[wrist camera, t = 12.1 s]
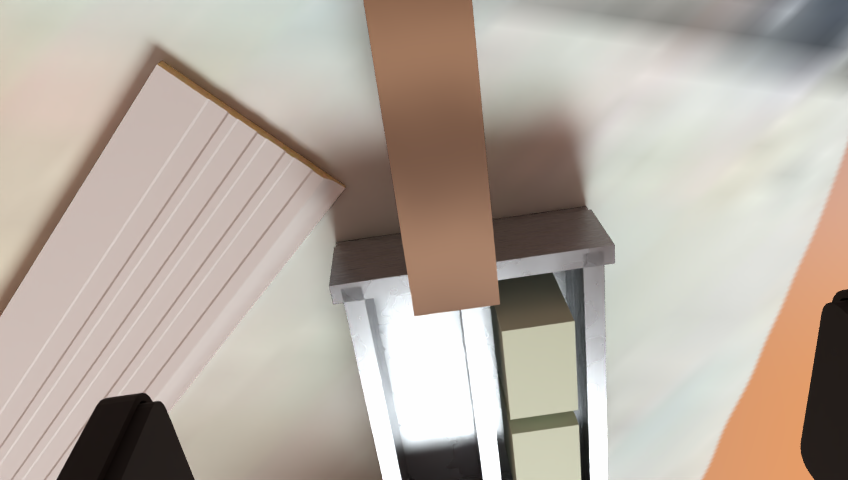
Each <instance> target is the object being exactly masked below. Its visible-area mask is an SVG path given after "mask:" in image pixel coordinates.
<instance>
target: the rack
mask: <svg viewBox="0 0 848 480" xmlns="http://www.w3.org/2000/svg"><path fill="white" fill-rule="evenodd" d="M492 223H493V234H494V244H495V255H496V266H497V277H498V280H503V279H510V278H517V277H524V276H530V275H537V274H544V273H551V272H553V275H554V277H555V279H556V281H557V283H558V286H559V288H560V290H561V292H562V294H563V297H564V299H565V301H566V303H567V305H568V308H569V310H570V312H571V314H572V316H573V319H574V321H575V343H576V367H577V391H578V410H575V411H574V413H575V416H576V418H577V421H578V424H579V440H580V464H581V480H608V456H607V396H606V336H605V276H604V265H606V264H613V263H615V245H614V243H613V242H612V240H611V239H610V237H609V236H608V234H607V233H606V231H605V230H604V228H603V227H602V225H601V224H600V222H599V221H598V219H597V218H596V216H595V215H594V213H593V212H592V210H588V208H587V207H586V206H584V207H577V208H570V209H564V210H557V211H550V212H543V213H536V214H529V215H522V216H516V217H509V218H502V219H495V220H492ZM329 288H330V292H331V296H332V301H333V304H337V303H344V306H345V311H346V315H347V320H348V324H349V329H350V333H351V338H352V342H353V347H354V351H355V356H356V360H357V365H358V369H359V374H360V378H361V383H362V387H363V392H364V396H365V401H366V406H367V410H368V415H369V419H370V424H371V428H372V433H373V437H374V442H375V446H376V451H377V455H378V460H379V464H380V469H381V473H382V478H383V480H513V478H512V473H511V469H510V465H509V460H508V456H507V451H506V447H505V440H504V431H503V421H502V412H501V403H500V393H499V384H498V375H497V374H499V371H498V367H497V363H496V356H495V347H494V337H493V328H492V319H491V309H490V306H486V307H479V308H472V309H464V310H457V311H450V312H443V313H436V314H429V315H421V316H414V311H413V305H412V299H411V293H410V286H409V280H408V274H407V268H406V262H405V255H404V249H403V243H402V237H401V233H399V234H392V235H385V236H379V237H372V238H365V239H358V240H351V241H344V242H337V243H336V247H334V253H333V261H332V269H331V276H330V284H329Z"/></svg>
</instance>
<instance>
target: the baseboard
mask: <svg viewBox="0 0 848 480" xmlns="http://www.w3.org/2000/svg"><path fill="white" fill-rule="evenodd" d="M345 188H346V186H345V185H343V184H342V183H340V182H339V181H337V180H336V179H335V178H333V177H332V176H330V175H329V174H327V173H326V172H324V171H323V170H321V169H320V168H318V167H317V166H316V165H314V164H313V163H311V162H310V161H308V160H307V159H305V158H304V157H302V156H301V155H299V154H298V153H297V152H295V151H294V150H292V149H291V148H289V147H288V146H286V145H285V144H283V143H282V142H280V141H279V140H277V139H276V138H275V137H273V136H272V135H270V134H269V133H267V132H266V131H264V130H263V129H261V128H260V127H258V126H257V125H256V124H254V123H253V122H251V121H250V120H248V119H247V118H245V117H244V116H242V115H241V114H239V113H238V112H237V111H235V110H234V109H232V108H231V107H229V106H228V105H226V104H225V103H223V102H222V101H220V100H219V99H218V98H216V97H215V96H213V95H212V94H210V93H209V92H207V91H206V90H204V89H203V88H201V87H200V86H198V85H197V84H196V83H194V82H193V81H191V80H190V79H188V78H187V77H185V76H184V75H182V74H181V73H179V72H178V71H177V70H175V69H174V68H172V67H171V66H169V65H168V64H166V63H165V62H163V61H161V62H159V63H158V64H157V65H156V66H155V68H154V70H153V71H152V73H151V75H150V76H149V78H148V79H147V81H146V83H145V84H144V86H143V87H142V89H141V91H140V92H139V94H138V95H137V97H136V99H135V100H134V102H133V104H132V105H131V107H130V108H129V110H128V112H127V113H126V115H125V116H124V118H123V120H122V121H121V123H120V124H119V126H118V128H117V129H116V131H115V133H114V134H113V136H112V137H111V139H110V141H109V142H108V144H107V145H106V147H105V149H104V150H103V152H102V154H101V155H100V157H99V158H98V160H97V162H96V163H95V165H94V166H93V168H92V170H91V171H90V173H89V174H88V176H87V178H86V179H85V181H84V183H83V184H82V186H81V187H80V189H79V191H78V192H77V194H76V195H75V197H74V199H73V200H72V202H71V203H70V205H69V207H68V208H67V210H66V212H65V213H64V215H63V216H62V218H61V220H60V221H59V223H58V224H57V226H56V228H55V229H54V231H53V232H52V234H51V236H50V237H49V239H48V241H47V242H46V244H45V245H44V247H43V249H42V250H41V252H40V253H39V255H38V257H37V258H36V260H35V261H34V263H33V265H32V266H31V268H30V270H29V271H28V273H27V274H26V276H25V278H24V279H23V281H22V282H21V284H20V286H19V287H18V289H17V291H16V292H15V294H14V295H13V297H12V299H11V300H10V302H9V303H8V305H7V307H6V308H5V310H4V311H3V313H2V315H1V316H0V480H56V479H57V477H58V476H59V474H60V472H61V470H62V468H63V466H64V464H65V463H66V461H67V459H68V457H69V455H70V453H71V452H72V450H73V448H74V446H75V444H76V442H77V440H78V439H79V437H80V435H81V433H82V431H83V429H84V428H85V426H86V424H87V422H88V420H89V418H90V416H91V415H92V413H93V411H94V409H95V407H96V405H97V404H98V403H99V402H100V400H102V399H104V398H109V397H116V396H123V395H130V394H137V393H146V394H147V395H149V396H150V398H151V399H152V401H153V402H154V401H161V402H162V403H163V404H164V406H165V407H166V410H167V412H168V413H169V412H170V410H171V409H172V408H173V407H174V405H175V404H176V403H177V402H178V400H179V399H180V398H181V396H182V395H183V394H184V393H185V391H186V390H187V389H188V388H189V386H190V385H191V384H192V383H193V381H194V380H195V379H196V377H197V376H198V375H199V374H200V372H201V371H202V370H203V369H204V367H205V366H206V365H207V363H208V362H209V361H210V360H211V358H212V357H213V356H214V355H215V353H216V352H217V351H218V349H219V348H220V347H221V346H222V344H223V343H224V342H225V341H226V339H227V338H228V337H229V335H230V334H231V333H232V332H233V330H234V329H235V328H236V327H237V325H238V324H239V323H240V321H241V320H242V319H243V318H244V316H245V315H246V314H247V313H248V311H249V310H250V309H251V308H252V306H253V305H254V304H255V302H256V301H257V300H258V299H259V297H260V296H261V295H262V294H263V292H264V291H265V290H266V288H267V287H268V286H269V285H270V283H271V282H272V281H273V280H274V278H275V277H276V276H277V274H278V273H279V272H280V271H281V269H282V268H283V267H284V266H285V264H286V263H287V262H288V260H289V259H290V258H291V257H292V255H293V254H294V253H295V252H296V250H297V249H298V248H299V247H300V245H301V244H302V243H303V241H304V240H305V239H306V238H307V236H308V235H309V234H310V233H311V231H312V230H313V229H314V227H315V226H316V225H317V224H318V222H319V221H320V220H321V219H322V217H323V216H324V215H325V213H326V212H327V211H328V210H329V208H330V207H331V206H332V205H333V203H334V202H335V201H336V199H337V198H338V197H339V196H340V194H341V193H342V192H343V191H344V189H345Z"/></svg>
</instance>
